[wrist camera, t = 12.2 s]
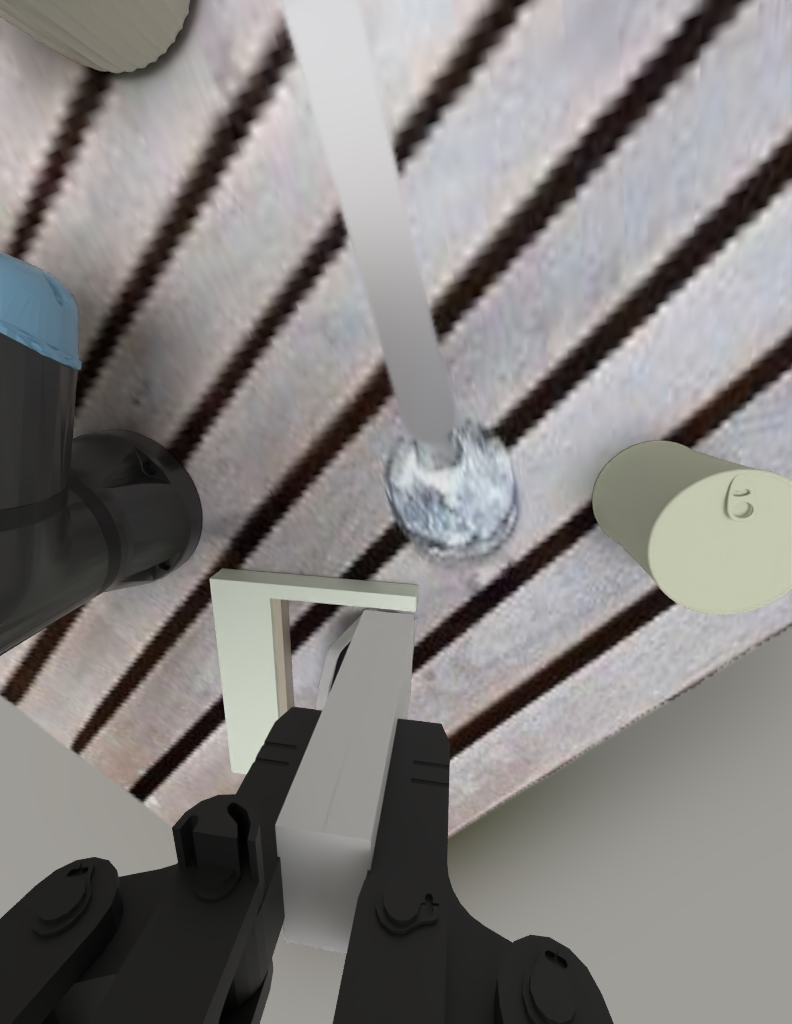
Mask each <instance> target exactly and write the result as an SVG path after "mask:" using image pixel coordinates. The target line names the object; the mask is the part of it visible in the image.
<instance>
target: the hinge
mask: <svg viewBox="0 0 792 1024" xmlns="http://www.w3.org/2000/svg"><path fill="white" fill-rule="evenodd" d="M367 610H370V611H379V609H376V608H368V609H367ZM361 616H362V615H361ZM361 616H360V617H359V618H358V619H357V620H356V621H355V622H354V623H353V624H352V625H351V626H350V627H349V628H348V629H347V630H346V631H345V632H344V633H343V634H342V635H341V636H340V637H339V638H338V639H337V640H336V641H335V642H334V643H333V644H332V645H331V646H330V648H329V650H328V652H327V655H326V658H325V662H324V666H323V670H322V674H321V679H320V684H319V689H318V695H317V701H316V709H315V710H323V708H324V706H325V703H326V701H327V698H328V696H329V693H330V691H331V689H332V686H333V684H334V681H335V679H336V677H337V674H338V672H339V669H340V667H341V664H342V662H343V660H344V657H345V655H346V652H347V650H348V647H349V645H350V643H351V640H352V638H353V635H354V633H355V631H356V628H357V626H358V623H359V621H360V618H361ZM416 626H417V617H415V616H414V628H413V650H414V642H415V634H416ZM412 658H413V653H412Z"/></svg>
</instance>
